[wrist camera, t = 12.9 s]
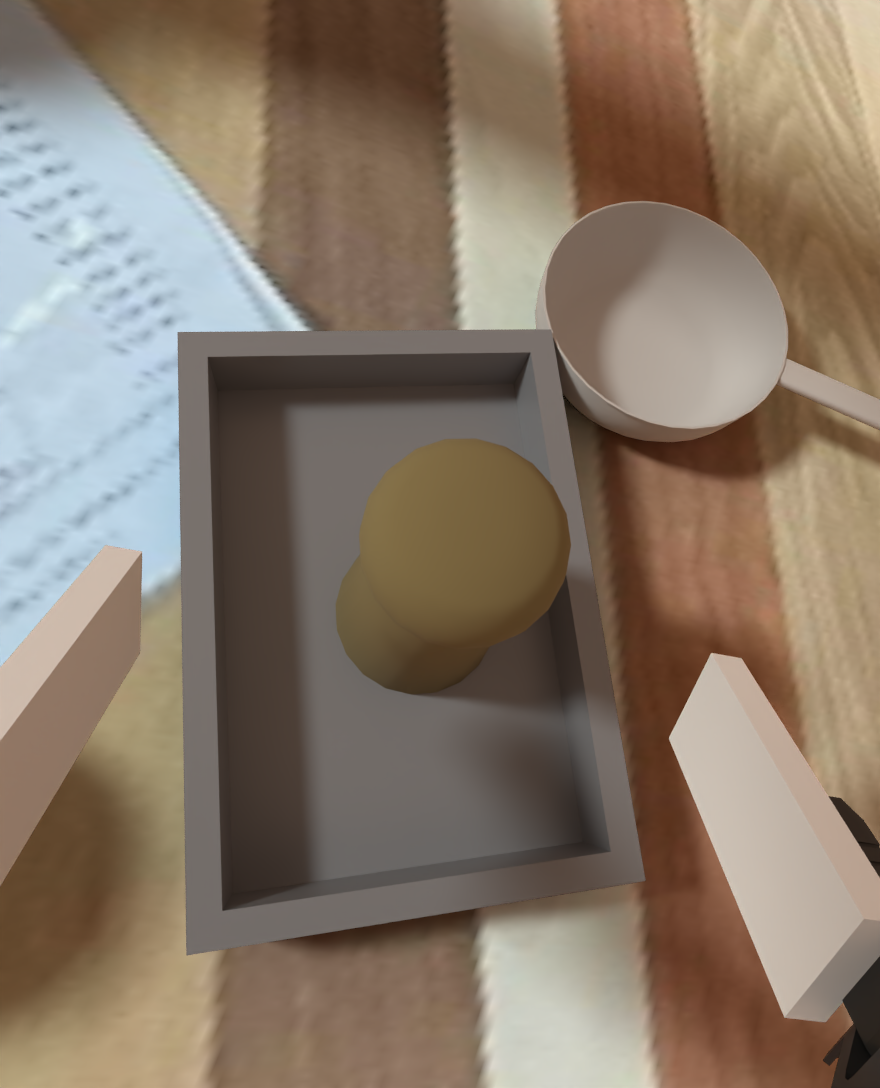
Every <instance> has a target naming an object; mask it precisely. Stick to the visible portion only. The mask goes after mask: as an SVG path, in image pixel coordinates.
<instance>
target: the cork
mask: <svg viewBox="0 0 880 1088" xmlns="http://www.w3.org/2000/svg"><path fill="white" fill-rule="evenodd" d="M359 542H360V555H359V556H358V558H357V559H356V560H355V562H354V563H353V565H352V566H351V568H350V569H349V571H348V572H347V574H346V575H345V577H344V578H343V580H342V582H341V586H340V590H339V593H338V597H337V601H336V604H335V605H336V624H337V632H338V634H339V637H340V639H341V642H342V644H343V647H344V649H345V652H346V654H347V656H348V657H349V658H350V659H351V660H352V662H353V663H354V664H355V665H356V666H357V668H358V669H359V670H360V671H361V672H362V674H363V675H365V676H367V677H368V678H370V679H371V680H373V681H375V682H376V683H378V684H379V685H381V686H383V687H384V688H386V689H390V690H395V691H399V692H403V693H407V694H422V693H434V692H439V691H441V690H443V689H445V688H448V687H450V686H452V685H455V684H457V683H459V682H461V681H462V680H463V679H464V678H465V677H466V676H468V675H469V674H470V673H471V672H472V671H473V670H474V669H475V668H476V667H478V666H479V664H480V662H481V661H482V659H483V657H484V655H485V654H486V652H487V650H488V648H489V647H490V646H492V645H495V644H497V643H499V642H502V641H504V640H506V639H509V638H511V637H514V636H516V635H518V634H520V633H522V632H524V631H526V630H527V629H528V628H529V627H530V626H531V625H532V624H533V623H534V622H535V621H537V620H538V619H539V618H540V617H541V616H542V615H543V614H544V613H545V612H547V611H548V610H549V608H550V606H551V604H552V602H553V601H554V599H555V597H556V595H557V593H558V591H559V590H560V588H561V586H562V584H563V582H564V579H565V576H566V572H567V566H568V560H569V555H570V549H571V540H570V533H569V526H568V519H567V514H566V512H565V510H564V507H563V505H562V503H561V501H560V499H559V497H558V495H557V493H556V491H555V489H554V487H553V485H552V484H551V483H550V482H549V481H548V480H547V479H546V478H545V477H544V475H543V474H542V473H541V472H540V471H539V470H538V469H537V468H536V467H535V465H534V464H533V463H531V462H530V461H528V460H526V459H525V458H523V457H522V456H520V455H518V454H517V453H515V452H514V451H512V450H510V449H509V448H507V447H505V446H501V445H498V444H494V443H491V442H487V441H483V440H480V439H476V438H474V439H444V440H441V441H438V442H435V443H432V444H429V445H426V446H423V447H420V448H417V449H415V450H414V451H413V452H411V453H410V454H409V455H407V456H406V457H405V458H403V459H402V460H401V461H399V462H398V463H397V464H395V465H394V466H393V467H391V468H390V469H389V470H388V471H386V473H385V474H384V476H383V477H382V478H381V480H380V481H379V483H378V484H377V486H376V487H375V489H374V490H373V492H372V493H371V494H370V496H369V497H368V501H367V504H366V508H365V512H364V515H363V519H362V523H361V526H360V532H359Z"/></svg>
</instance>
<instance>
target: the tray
mask: <svg viewBox="0 0 880 1088" xmlns="http://www.w3.org/2000/svg"><path fill="white" fill-rule="evenodd" d="M178 390H179V460H180V530H181V600H182V669H183V739H184V809H185V879H186V949H187V955H192V954H198V953H204V952H210V951H217V950H223V949H229V948H235V947H241V946H247V945H254V944H260V943H266V942H272V941H278V940H284V939H291V938H297V937H303V936H309V935H315V934H322V933H328V932H334V931H340V930H346V929H352V928H359V927H365V926H371V925H377V924H383V923H389V922H396V921H402V920H408V919H414V918H420V917H426V916H433V915H439V914H445V913H451V912H457V911H463V910H470V909H476V908H482V907H488V906H494V905H501V904H507V903H513V902H519V901H525V900H531V899H538V898H544V897H550V896H556V895H562V894H568V893H575V892H581V891H587V890H593V889H599V888H605V887H612V886H618V885H624V884H630V883H636V882H642V881H646V880H645V874H644V868H643V863H642V857H641V851H640V845H639V839H638V833H637V827H636V822H635V816H634V810H633V804H632V798H631V792H630V787H629V781H628V775H627V769H626V763H625V757H624V751H623V746H622V740H621V734H620V728H619V722H618V716H617V710H616V705H615V699H614V693H613V687H612V681H611V675H610V669H609V664H608V658H607V652H606V646H605V640H604V634H603V628H602V623H601V617H600V611H599V605H598V599H597V593H596V587H595V582H594V576H593V570H592V564H591V558H590V552H589V546H588V541H587V535H586V529H585V523H584V517H583V511H582V505H581V500H580V494H579V488H578V482H577V476H576V470H575V464H574V459H573V453H572V447H571V441H570V435H569V429H568V423H567V418H566V412H565V406H564V400H563V394H562V388H561V382H560V377H559V371H558V365H557V359H556V353H555V347H554V341H553V336H552V330H551V329H535V330H402V331H269V332H178ZM474 438H476V439H480V440H483V441H487V442H491V443H494V444H498V445H501V446H505V447H507V448H509V449H510V450H512V451H514V452H515V453H517V454H518V455H520V456H522V457H523V458H525V459H526V460H528V461H530V462H531V463H533V464H534V465H535V467H536V468H537V469H538V470H539V471H540V472H541V473H542V474H543V475H544V477H545V478H546V479H547V480H548V481H549V482H550V483H551V484H552V485H553V487H554V489H555V491H556V493H557V495H558V497H559V499H560V501H561V503H562V505H563V507H564V510H565V512H566V514H567V519H568V526H569V533H570V540H571V549H570V555H569V560H568V566H567V572H566V576H565V579H564V582H563V584H562V586H561V588H560V590H559V591H558V593H557V595H556V597H555V599H554V601H553V602H552V604H551V606H550V608H549V610H548V611H547V612H545V613H544V614H543V615H542V616H541V617H540V618H539V619H538V620H537V621H535V622H534V623H533V624H532V625H531V626H530V627H529V628H528V629H527V630H526V631H524V632H522V633H520V634H518V635H516V636H514V637H511V638H509V639H506V640H504V641H502V642H499V643H497V644H495V645H492V646H490V647H489V648H488V650H487V652H486V654H485V655H484V657H483V659H482V661H481V662H480V664H479V666H478V667H476V668H475V669H474V670H473V671H472V672H471V673H470V674H469V675H468V676H466V677H465V678H464V679H463V680H462V681H461V682H459V683H457V684H455V685H452V686H450V687H448V688H445V689H443V690H441V691H439V692H434V693H422V694H407V693H403V692H399V691H395V690H390V689H386V688H384V687H383V686H381V685H379V684H378V683H376V682H375V681H373V680H371V679H370V678H368V677H367V676H365V675H363V674H362V672H361V671H360V670H359V669H358V668H357V666H356V665H355V664H354V663H353V662H352V660H351V659H350V658H349V657H348V656H347V654H346V652H345V649H344V647H343V644H342V642H341V639H340V637H339V634H338V632H337V624H336V605H335V604H336V601H337V597H338V593H339V590H340V586H341V582H342V580H343V578H344V577H345V575H346V574H347V572H348V571H349V569H350V568H351V566H352V565H353V563H354V562H355V560H356V559H357V558H358V556H359V555H360V542H359V532H360V526H361V523H362V519H363V515H364V512H365V508H366V504H367V501H368V497H369V496H370V494H371V493H372V492H373V490H374V489H375V487H376V486H377V484H378V483H379V481H380V480H381V478H382V477H383V476H384V474H385V473H386V471H388V470H389V469H390V468H391V467H393V466H394V465H395V464H397V463H398V462H399V461H401V460H402V459H403V458H405V457H406V456H407V455H409V454H410V453H411V452H413V451H414V450H415V449H417V448H420V447H423V446H426V445H429V444H432V443H435V442H438V441H441V440H444V439H474Z"/></svg>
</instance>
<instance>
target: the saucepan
mask: <svg viewBox="0 0 880 1088" xmlns="http://www.w3.org/2000/svg"><path fill="white" fill-rule="evenodd" d="M535 319H536V329H551V330H552V336H553V341H554V347H555V353H556V359H557V365H558V371H559V377H560V382H561V388H562V393H563V394H564V396H565V397H566V398H567V399H568V400H569V402H570V403H571V404H572V405H573V406H574V407H575V408H576V409H577V410H578V411H580V412H581V413H582V414H583V415H585V416H586V417H587V418H588V419H590V420H591V421H593V422H595V423H597V424H598V425H600V426H602V427H603V428H606V429H608V430H611V431H613V432H616V433H618V434H621V435H623V436H626V437H630V438H635V439H639V440H644V441H658V442H678V441H686V440H693V439H697V438H700V437H703V436H706V435H709V434H712V433H714V432H716V431H718V430H720V429H722V428H724V427H726V426H727V425H729V424H731V423H733V422H735V421H736V420H738V419H740V418H741V417H742V416H744V415H745V414H747V413H749V412H751V411H752V410H753V409H754V408H755V407H756V406H758V405H759V404H760V403H761V402H762V401H763V400H764V399H766V397H767V396H768V395H769V393H770V392H771V390H772V389H773V388H774V386H775V385H779V386H781V387H783V388H785V389H788V390H790V391H792V392H794V393H797V394H799V395H801V396H803V397H806V398H808V399H810V400H812V401H815V402H817V403H819V404H821V405H824V406H826V407H828V408H830V409H833V410H835V411H837V412H840V413H842V414H844V415H846V416H849V417H851V418H853V419H855V420H858V421H860V422H862V423H864V424H867V425H869V426H871V427H873V428H876V429H878V430H880V399H878V398H875V397H873V396H871V395H869V394H866V393H864V392H862V391H860V390H857V389H855V388H853V387H850V386H848V385H846V384H844V383H841V382H839V381H837V380H835V379H832V378H830V377H828V376H825V375H823V374H821V373H819V372H816V371H814V370H812V369H810V368H807V367H805V366H803V365H801V364H798V363H796V362H794V361H791V360H789V359H787V358H786V355H787V350H788V326H787V320H786V315H785V310H784V307H783V304H782V301H781V298H780V295H779V292H778V290H777V288H776V286H775V285H774V283H773V281H772V279H771V277H770V275H769V273H768V272H767V271H766V269H765V268H764V267H763V265H762V264H761V262H760V261H759V260H758V258H757V257H756V256H755V255H754V254H753V253H752V252H751V251H750V250H749V249H748V248H747V247H746V246H745V245H744V244H743V243H742V241H740V240H739V239H738V238H737V237H735V236H734V235H733V234H731V233H730V232H729V231H728V230H726V229H725V228H724V227H722V226H720V225H719V224H717V223H715V222H713V221H712V220H710V219H708V218H707V217H705V216H702V215H700V214H698V213H695V212H693V211H690V210H688V209H685V208H682V207H678V206H674V205H670V204H667V203H659V202H650V201H633V202H622V203H618V204H613V205H608V206H605V207H603V208H600V209H598V210H595V211H593V212H591V213H589V214H587V215H586V216H584V217H583V218H581V219H580V220H578V221H577V222H575V223H574V224H573V225H572V226H571V227H570V228H569V229H568V230H567V231H566V232H565V233H564V234H563V235H562V236H561V238H560V239H559V241H558V242H557V244H556V246H555V247H554V249H553V250H552V252H551V255H550V257H549V260H548V263H547V266H546V269H545V271H544V274H543V277H542V280H541V283H540V287H539V291H538V296H537V303H536V310H535Z"/></svg>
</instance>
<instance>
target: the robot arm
mask: <svg viewBox="0 0 880 1088" xmlns="http://www.w3.org/2000/svg"><path fill="white" fill-rule="evenodd" d="M141 581H142V552H141V551H135V550H130V549H124V548H118V547H113V546H107V545H105V546H104V547H103V549H102V550H101V551H100V552H99V553H98V554H97V556H96V557H95V558H94V559H93V560H92V561H91V563H90V564H89V565H88V566H87V567H86V568H85V570H84V571H83V572H82V573H81V574H80V575H79V577H78V578H77V579H76V580H75V581H74V582H73V584H72V585H71V586H70V587H69V588H68V589H67V591H66V592H65V593H64V594H63V595H62V596H61V598H60V599H59V600H58V601H57V602H56V603H55V605H54V606H53V607H52V608H51V609H50V610H49V612H48V613H47V614H46V615H45V616H44V617H43V619H42V620H41V621H40V622H39V623H38V624H37V626H36V627H35V628H34V629H33V630H32V631H31V633H30V634H29V635H28V636H27V637H26V638H25V639H24V641H23V642H22V643H21V644H20V645H19V646H18V648H17V649H16V650H15V651H14V652H13V653H12V655H11V656H10V657H9V658H8V659H7V660H6V662H5V663H4V664H3V665H2V666H1V667H0V886H1V884H2V883H3V881H4V879H5V878H6V876H7V874H8V873H9V871H10V869H11V868H12V866H13V864H14V863H15V861H16V859H17V858H18V856H19V854H20V853H21V851H22V849H23V848H24V846H25V844H26V843H27V841H28V839H29V838H30V836H31V834H32V833H33V831H34V829H35V827H36V826H37V824H38V822H39V821H40V819H41V817H42V816H43V814H44V812H45V811H46V809H47V807H48V806H49V804H50V802H51V801H52V799H53V797H54V796H55V794H56V792H57V791H58V789H59V787H60V786H61V784H62V782H63V781H64V779H65V777H66V776H67V774H68V772H69V771H70V769H71V767H72V766H73V764H74V762H75V761H76V759H77V757H78V756H79V754H80V752H81V751H82V749H83V747H84V746H85V744H86V742H87V741H88V739H89V737H90V736H91V734H92V732H93V731H94V729H95V727H96V726H97V724H98V722H99V721H100V719H101V717H102V715H103V714H104V712H105V710H106V709H107V707H108V705H109V704H110V702H111V700H112V699H113V697H114V695H115V694H116V692H117V690H118V689H119V687H120V685H121V684H122V682H123V680H124V679H125V677H126V675H127V674H128V672H129V670H130V669H131V667H132V665H133V664H134V662H135V660H136V659H137V657H138V655H139V654H140V630H141ZM669 740H670V743H671V745H672V748H673V750H674V752H675V755H676V757H677V760H678V762H679V764H680V767H681V769H682V772H683V774H684V777H685V779H686V781H687V784H688V786H689V789H690V791H691V793H692V796H693V798H694V801H695V803H696V805H697V808H698V810H699V813H700V815H701V818H702V820H703V822H704V825H705V827H706V830H707V832H708V834H709V837H710V839H711V842H712V844H713V846H714V849H715V851H716V854H717V856H718V859H719V861H720V863H721V866H722V868H723V871H724V873H725V875H726V878H727V880H728V883H729V885H730V888H731V890H732V892H733V895H734V897H735V900H736V902H737V904H738V907H739V909H740V912H741V914H742V916H743V919H744V921H745V924H746V926H747V929H748V931H749V933H750V936H751V938H752V941H753V943H754V945H755V948H756V950H757V953H758V955H759V957H760V960H761V962H762V965H763V967H764V970H765V972H766V974H767V977H768V979H769V982H770V984H771V986H772V989H773V991H774V994H775V996H776V999H777V1001H778V1003H779V1006H780V1008H781V1011H782V1013H783V1015H784V1018H791V1019H800V1020H808V1021H817V1022H826V1021H827V1020H828V1019H829V1018H830V1017H831V1015H832V1014H833V1013H834V1012H835V1011H836V1010H837V1009H838V1007H839V1006H840V1005H841V1004H842V1003H844V1005H845V1007H846V1009H847V1011H848V1013H849V1015H850V1017H851V1019H852V1021H853V1023H854V1024H853V1025H852V1026H851V1027H850V1028H849V1030H848V1031H847V1032H846V1033H845V1034H844V1035H843V1036H842V1037H841V1038H840V1040H839V1041H838V1042H837V1043H836V1044H835V1045H834V1046H833V1047H832V1049H831V1050H830V1051H829V1052H828V1053H827V1055H826V1056H825V1058H824V1059H823V1061H824V1062H825V1063H827V1064H828V1065H829V1066H830V1065H831V1063H832V1062H833V1061H834V1060H835V1059H836V1058H839V1059H838V1063H837V1067H836V1071H835V1074H834V1078H833V1082H832V1086H831V1088H880V848H879V845H880V844H879V843H878V841H877V840H876V838H875V837H874V835H873V834H872V832H871V831H870V829H869V828H868V826H867V825H866V823H865V822H864V820H863V819H862V818H861V817H860V816H859V815H858V814H856V813H855V812H854V811H853V810H852V809H851V808H850V807H849V806H848V805H847V804H846V803H845V802H844V801H843V800H842V799H841V798H836V797H830V796H828V795H827V793H826V792H825V790H824V789H823V787H822V785H821V784H820V782H819V781H818V779H817V777H816V776H815V774H814V773H813V771H812V770H811V768H810V766H809V765H808V763H807V762H806V760H805V758H804V757H803V755H802V754H801V752H800V750H799V749H798V747H797V746H796V744H795V743H794V741H793V739H792V738H791V736H790V735H789V733H788V731H787V730H786V728H785V727H784V725H783V723H782V722H781V720H780V719H779V717H778V716H777V714H776V712H775V711H774V709H773V708H772V706H771V704H770V703H769V701H768V700H767V698H766V696H765V695H764V693H763V692H762V690H761V689H760V687H759V685H758V684H757V682H756V681H755V679H754V677H753V676H752V674H751V673H750V671H749V669H748V668H747V666H746V665H745V663H744V662H743V660H742V658H737V657H732V656H726V655H720V654H715V653H711V654H710V656H709V658H708V660H707V662H706V665H705V667H704V669H703V671H702V673H701V675H700V677H699V679H698V681H697V683H696V685H695V687H694V689H693V691H692V693H691V695H690V697H689V699H688V701H687V703H686V705H685V707H684V709H683V711H682V713H681V715H680V717H679V719H678V721H677V723H676V725H675V727H674V729H673V731H672V733H671V735H670V737H669Z"/></svg>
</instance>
